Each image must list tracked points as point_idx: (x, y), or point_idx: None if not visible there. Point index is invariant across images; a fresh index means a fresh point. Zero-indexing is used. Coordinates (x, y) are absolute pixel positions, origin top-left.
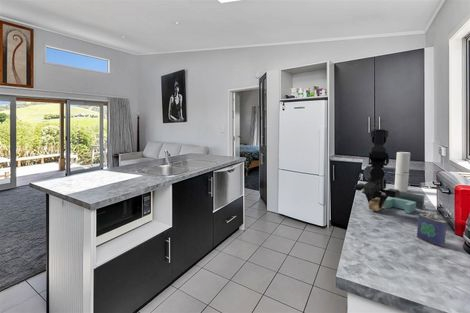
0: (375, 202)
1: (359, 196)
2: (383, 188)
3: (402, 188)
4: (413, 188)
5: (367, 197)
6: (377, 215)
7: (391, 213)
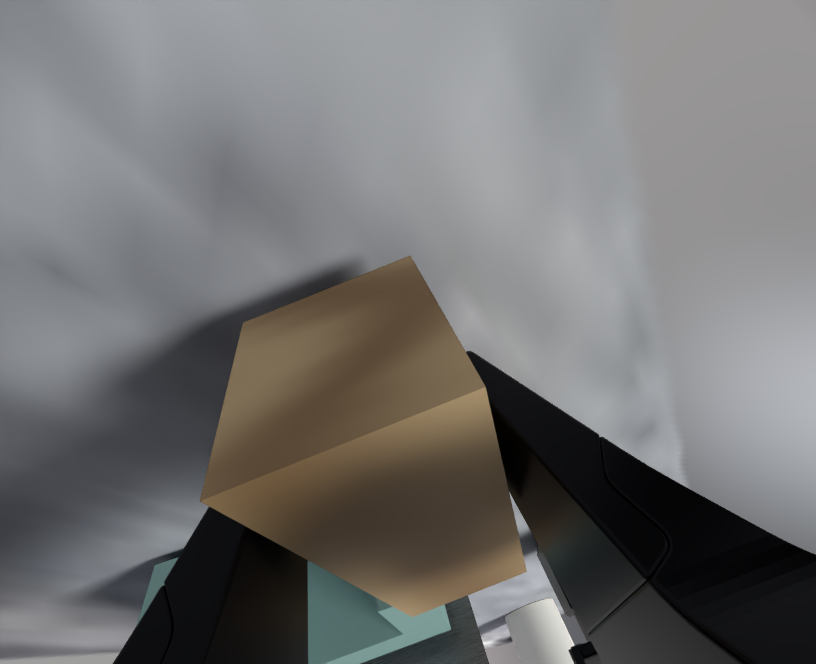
0: (302, 473)
1: (674, 466)
2: (579, 650)
3: (525, 631)
4: (508, 631)
5: (647, 495)
6: (121, 197)
7: None
